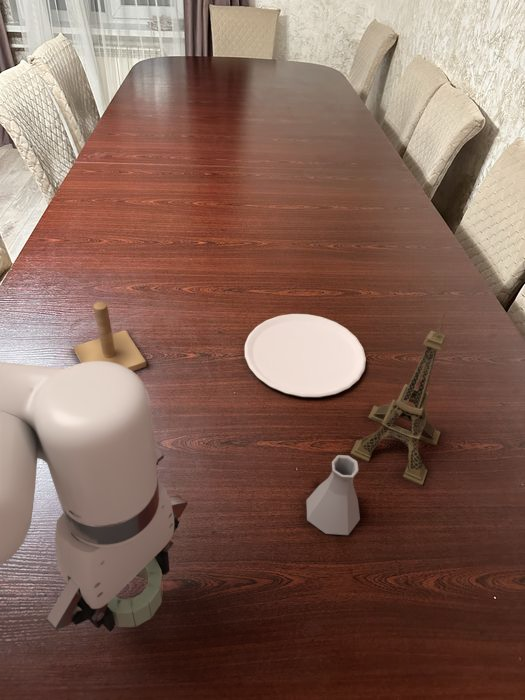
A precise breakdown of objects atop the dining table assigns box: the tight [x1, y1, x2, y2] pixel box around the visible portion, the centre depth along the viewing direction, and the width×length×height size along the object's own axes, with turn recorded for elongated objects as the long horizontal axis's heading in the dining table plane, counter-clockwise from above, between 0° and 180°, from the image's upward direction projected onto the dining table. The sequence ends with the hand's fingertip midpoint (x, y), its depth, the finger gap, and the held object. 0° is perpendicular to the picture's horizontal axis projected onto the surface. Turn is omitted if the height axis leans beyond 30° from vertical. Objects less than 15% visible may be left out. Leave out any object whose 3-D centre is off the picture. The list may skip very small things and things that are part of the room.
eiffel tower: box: [349, 310, 447, 487], centre depth 68 cm, size 11×11×25 cm
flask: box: [305, 454, 361, 536], centre depth 65 cm, size 7×7×10 cm
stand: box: [73, 301, 147, 372], centre depth 83 cm, size 9×9×11 cm
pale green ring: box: [108, 558, 164, 628], centre depth 53 cm, size 6×6×4 cm
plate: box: [244, 313, 367, 398], centre depth 89 cm, size 21×21×1 cm
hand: (130, 590), depth 54 cm, fingers closed on pale green ring, 6 cm apart
